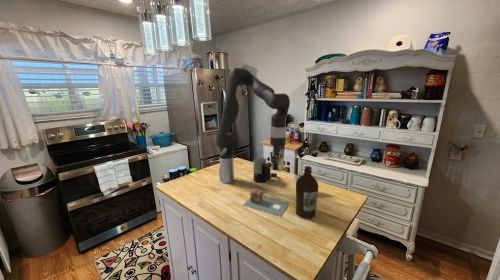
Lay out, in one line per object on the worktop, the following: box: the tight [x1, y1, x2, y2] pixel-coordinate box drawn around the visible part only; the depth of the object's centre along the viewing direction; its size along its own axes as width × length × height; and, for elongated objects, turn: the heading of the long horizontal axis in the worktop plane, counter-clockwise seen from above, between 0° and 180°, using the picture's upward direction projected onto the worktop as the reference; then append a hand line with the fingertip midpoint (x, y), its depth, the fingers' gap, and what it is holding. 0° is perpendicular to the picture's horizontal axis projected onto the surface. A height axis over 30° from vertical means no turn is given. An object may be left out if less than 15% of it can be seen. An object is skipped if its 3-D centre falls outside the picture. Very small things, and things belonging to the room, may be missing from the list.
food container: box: [294, 173, 316, 183], centre depth 126 cm, size 12×6×10 cm, turn 62°
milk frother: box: [252, 157, 278, 183], centre depth 143 cm, size 14×16×15 cm
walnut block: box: [250, 188, 264, 204], centre depth 116 cm, size 5×5×6 cm
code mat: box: [242, 195, 290, 217], centre depth 114 cm, size 22×14×1 cm, turn 62°
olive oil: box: [295, 165, 319, 220], centre depth 102 cm, size 11×11×25 cm
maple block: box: [270, 156, 285, 172], centre depth 105 cm, size 5×5×6 cm
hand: (277, 167), depth 106 cm, fingers closed on maple block, 5 cm apart
